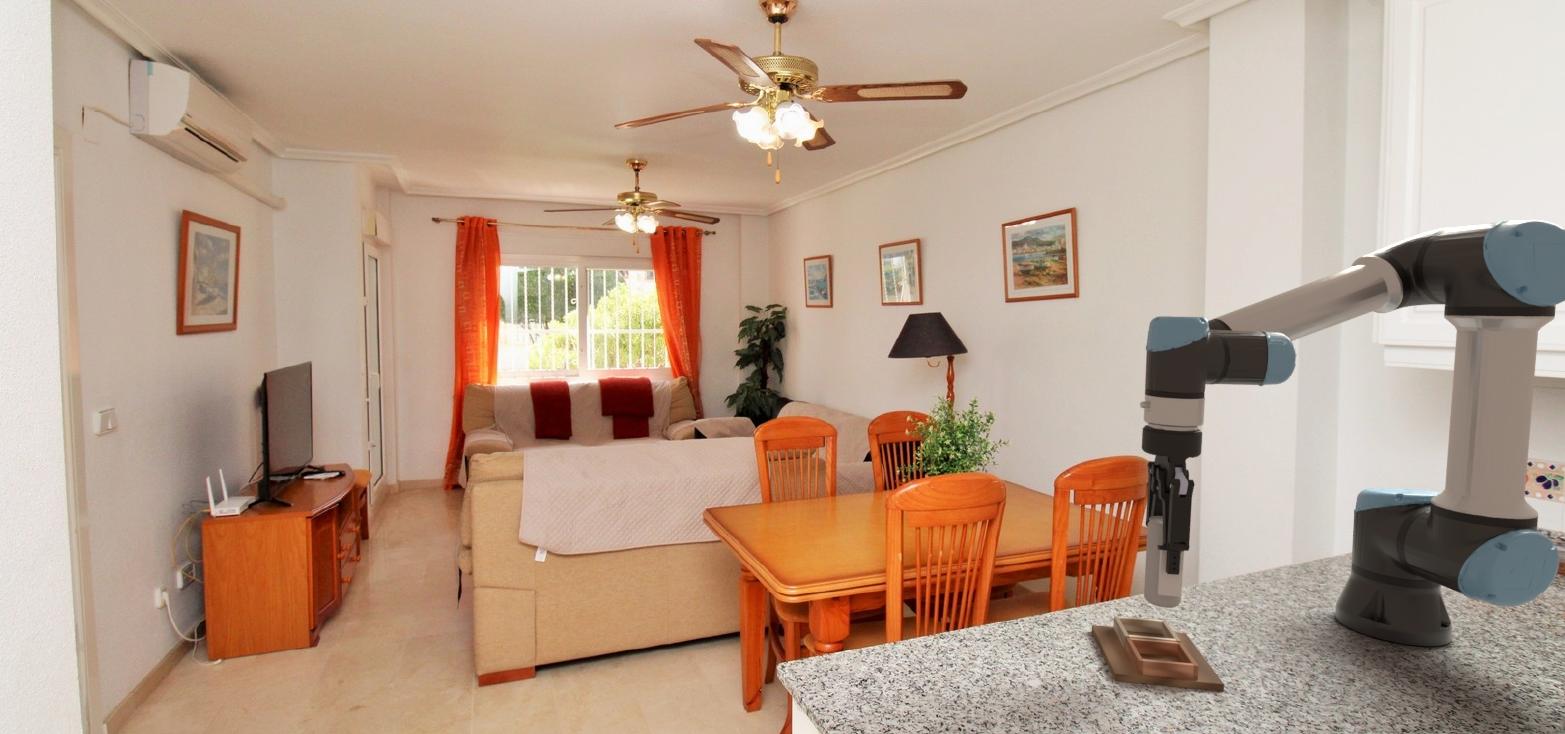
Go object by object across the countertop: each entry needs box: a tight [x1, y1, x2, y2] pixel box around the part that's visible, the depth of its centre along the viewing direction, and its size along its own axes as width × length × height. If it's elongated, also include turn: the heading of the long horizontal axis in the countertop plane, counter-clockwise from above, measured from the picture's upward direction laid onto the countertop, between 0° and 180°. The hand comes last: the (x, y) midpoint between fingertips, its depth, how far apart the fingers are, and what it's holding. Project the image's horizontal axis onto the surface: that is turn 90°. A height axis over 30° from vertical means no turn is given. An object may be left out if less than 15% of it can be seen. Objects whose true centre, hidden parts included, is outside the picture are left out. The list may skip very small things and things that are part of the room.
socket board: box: [1091, 615, 1225, 692], centre depth 116 cm, size 14×17×3 cm
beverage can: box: [1143, 516, 1185, 609], centre depth 111 cm, size 5×5×12 cm
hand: (1163, 587), depth 111 cm, fingers closed on beverage can, 5 cm apart
